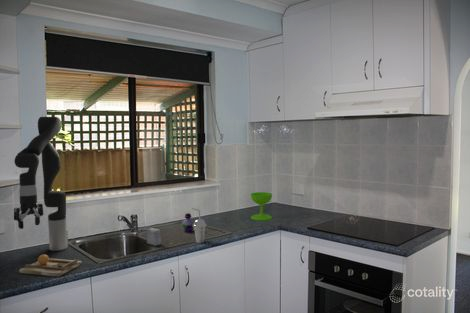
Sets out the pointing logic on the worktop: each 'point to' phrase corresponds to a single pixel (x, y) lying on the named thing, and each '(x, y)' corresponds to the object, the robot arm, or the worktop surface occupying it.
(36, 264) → the beige tray
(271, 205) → the worktop surface
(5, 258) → the worktop surface
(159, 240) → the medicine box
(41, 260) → the ball
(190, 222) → the potion bottle
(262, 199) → the wineglass
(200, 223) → the cup with straw
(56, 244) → the robot arm
